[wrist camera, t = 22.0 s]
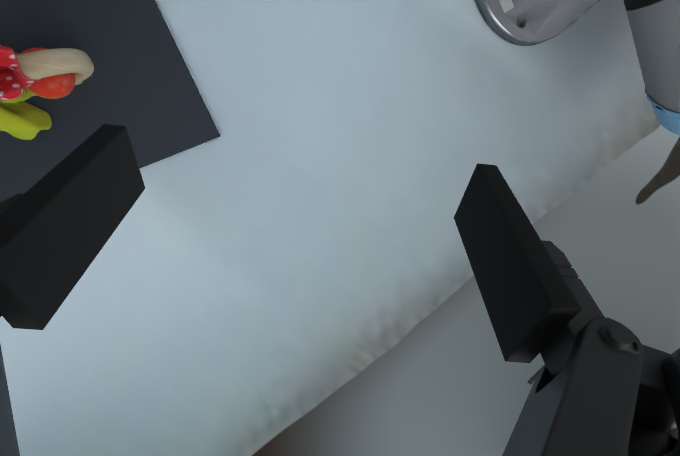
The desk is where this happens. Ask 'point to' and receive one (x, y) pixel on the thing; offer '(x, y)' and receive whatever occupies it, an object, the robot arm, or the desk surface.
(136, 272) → the desk surface
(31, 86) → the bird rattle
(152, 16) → the mat
